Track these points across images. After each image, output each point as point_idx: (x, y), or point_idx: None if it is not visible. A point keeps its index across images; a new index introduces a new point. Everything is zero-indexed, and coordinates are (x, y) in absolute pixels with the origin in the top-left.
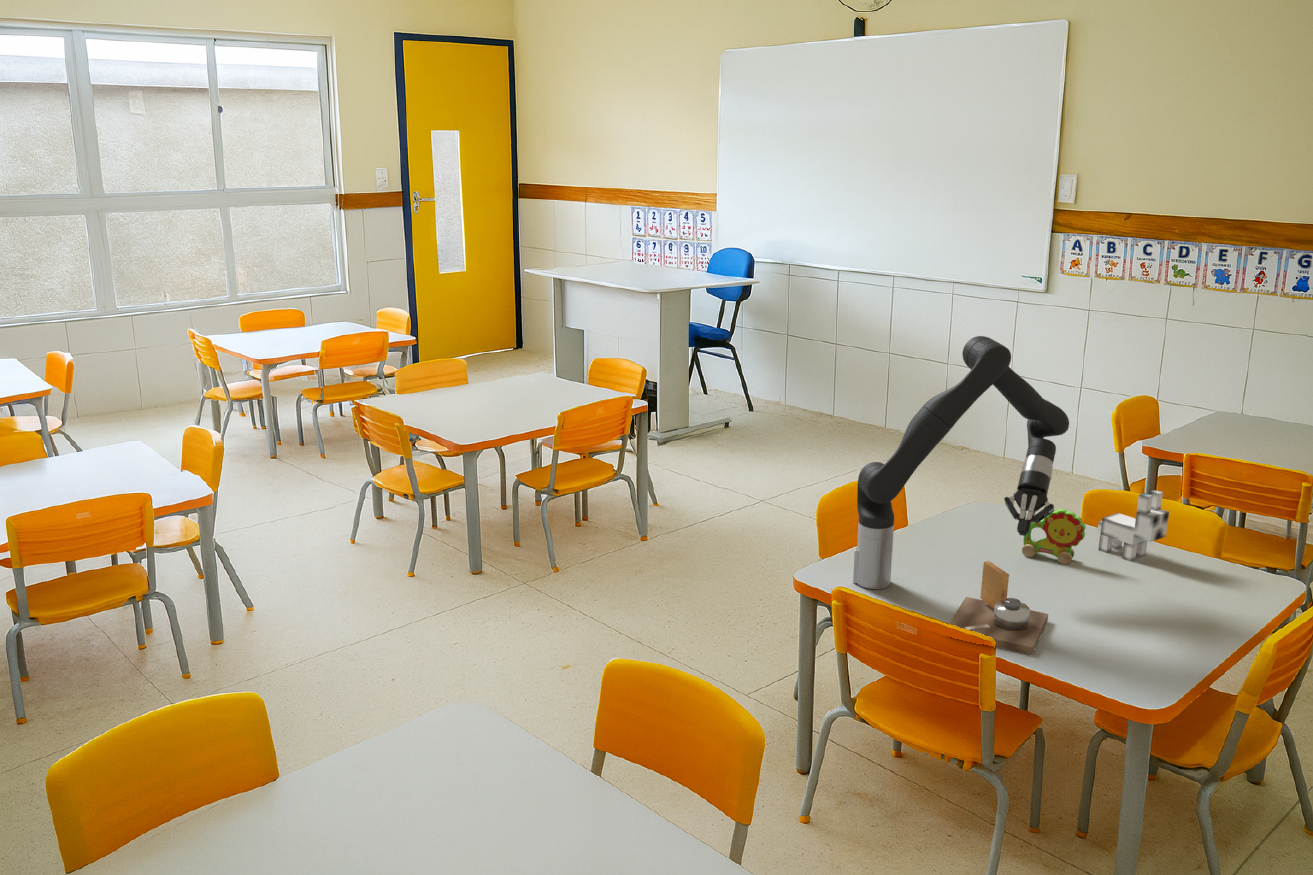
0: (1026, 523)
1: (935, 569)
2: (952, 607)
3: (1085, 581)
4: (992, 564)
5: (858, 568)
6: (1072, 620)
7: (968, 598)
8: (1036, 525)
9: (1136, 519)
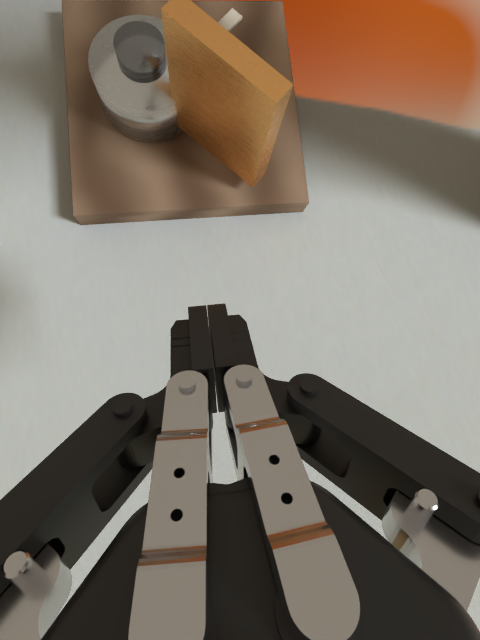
0: (193, 349)
1: (461, 393)
2: (322, 173)
3: None
4: (252, 73)
5: None
6: (18, 268)
7: (299, 195)
8: None
9: None
